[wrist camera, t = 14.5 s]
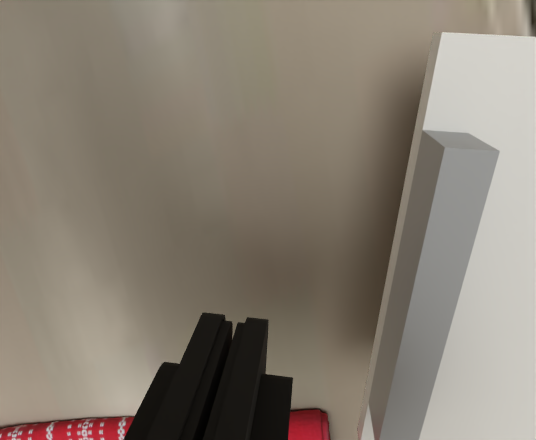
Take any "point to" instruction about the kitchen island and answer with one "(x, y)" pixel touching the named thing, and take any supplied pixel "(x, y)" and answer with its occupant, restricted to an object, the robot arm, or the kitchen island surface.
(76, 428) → the dish towel
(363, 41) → the kitchen island surface
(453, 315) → the lid
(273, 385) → the robot arm
